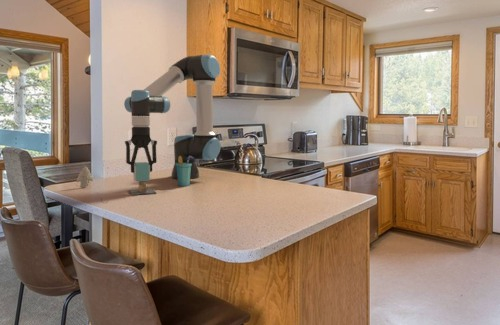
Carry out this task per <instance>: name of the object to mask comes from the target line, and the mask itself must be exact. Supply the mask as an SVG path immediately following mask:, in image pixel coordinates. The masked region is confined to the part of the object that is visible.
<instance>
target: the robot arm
mask: <svg viewBox="0 0 500 325" xmlns="http://www.w3.org/2000/svg"><path fill="white" fill-rule="evenodd" d="M220 73H221V67H220V63H219V61H218V59H217V58H216V56H214V55H212V54H200V55H190V56H186V57H183V58H182V59H179V60H178V61H176V62H175V63H173V64H172V65H171V66H170V67H169V68H168V70H167V71H166V72H165V73H163V74H162V75H160V77H158V78H157V79H155V80H154V81H153V82H151V83H150V84H149V85H148V86H145V88H144V89H134V90H132V91H131V92H130V95H131V96H128V97H126V99H125V100H124V102H123V105H124V109H125V111H127V112H128V113H131V126H132V127H131V138H130V139H128V140H125V141H124V144H125V147H126V148H125V150H126V151H125V155H126V156H125V162H126V164H127V165H130V172H131V173H132V174H133V176H132V177H133V181H136V165H134V164H135V162H136V159H137V156H138V152H139V149H141V148H142V149H143V150H144V153H145V157H146V158H147V163H149V181H150V180H151V172H153V165H154V164H156V163H157V144H158V141H157V140H153V139H152V138H151V128H150V126H151V125H150V124H151V123H150V122H151V120H150V119H151V118H150V117H151V115H150V114H166V113H168V112H169V111H170V109H171V101H170V99H169V98H168V97H166V96H163V95H165V94H166V93H167V92H169V91H170V89H172V88H173V87H175V86H176V85H177V84H181V83H182V82H184V81H187V80H192V83H194V85H195V101H196V102H195V103H196V104H195V105H196V106H195V109H196V110H195V111H196V112H195V113H196V115H195V116H196V132H195V133H194V134H187V135H186V134H184V135H177V136H175V137H174V140H173V146H174V147H173V148H174V149H173V150H174V152H173V153H174V164H173V168H172V170H171V178H172V179H177V180H178V176H177V166H176V164H177V163H179V162H178V157H179V156H181V157H182V161H183V163H187V159H188V157H189V156H192V157H194V159H192V158H189V163H191V164H192V166H191V172H190V180H191V179H197V178H200V172H199V168H198V165H197V160H204V161H213V160H216V159H217V157H218V156H219V154H220V151H221V147H222V146H221V141H220V140H219V139H218V138H217V133H215V132H214V111H213V110H214V100H213V98H214V96H213V93H214V90H213V89H214V88H213V86H214V84H215V83H216V79H217V78H218V77H219V75H220ZM131 144H132V145H133V146H134V147H133V152H132V156H131ZM150 144H151V150H152V151H151V154H152V155H151V154H150V150H149V145H150ZM136 182H137V181H136Z"/></svg>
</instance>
